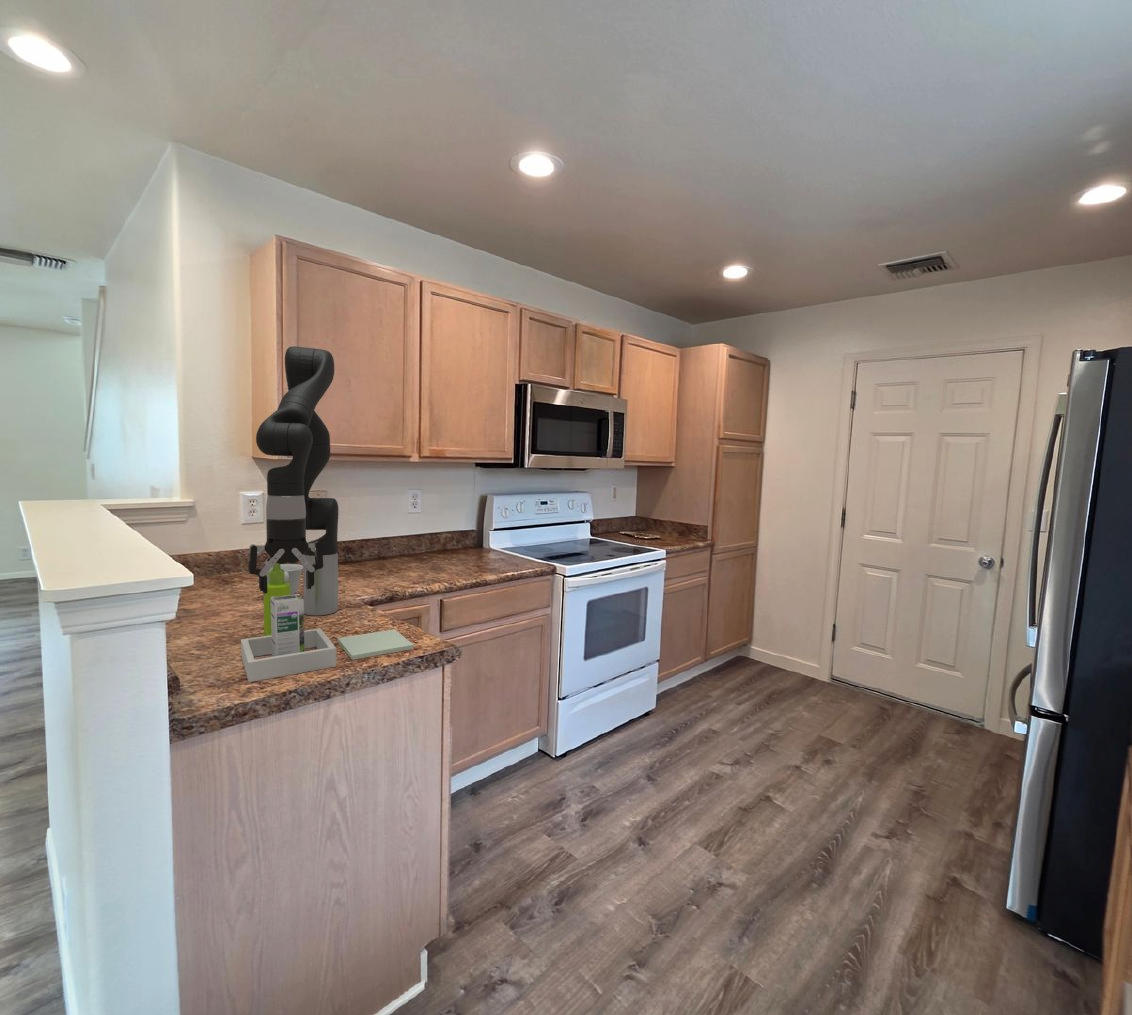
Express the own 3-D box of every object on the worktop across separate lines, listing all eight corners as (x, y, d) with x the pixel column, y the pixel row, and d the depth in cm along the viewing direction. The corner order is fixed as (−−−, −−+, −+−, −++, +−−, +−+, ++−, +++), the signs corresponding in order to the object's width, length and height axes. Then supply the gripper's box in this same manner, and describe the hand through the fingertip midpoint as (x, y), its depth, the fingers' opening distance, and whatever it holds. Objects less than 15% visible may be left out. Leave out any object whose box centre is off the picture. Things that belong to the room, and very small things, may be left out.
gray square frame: (241, 656, 121) (241, 639, 120) (320, 644, 130) (320, 628, 130) (248, 682, 107) (248, 662, 107) (336, 666, 117) (336, 648, 116)
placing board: (337, 642, 132) (337, 638, 132) (394, 632, 140) (394, 629, 140) (352, 659, 121) (352, 655, 121) (413, 648, 129) (413, 644, 129)
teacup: (264, 607, 160) (263, 574, 159) (260, 596, 173) (259, 565, 172) (308, 602, 167) (308, 570, 166) (301, 592, 179) (301, 562, 178)
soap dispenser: (299, 635, 136) (298, 557, 134) (269, 641, 131) (268, 560, 129) (289, 630, 140) (288, 553, 138) (260, 636, 135) (259, 556, 133)
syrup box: (275, 668, 115) (274, 601, 113) (271, 660, 119) (270, 595, 118) (304, 663, 118) (304, 598, 117) (299, 655, 123) (299, 592, 121)
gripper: (318, 514, 123) (319, 584, 124) (246, 516, 115) (247, 591, 116) (325, 516, 117) (326, 590, 118) (249, 519, 109) (251, 598, 110)
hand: (287, 590), depth 117 cm, fingers open, 8 cm apart
